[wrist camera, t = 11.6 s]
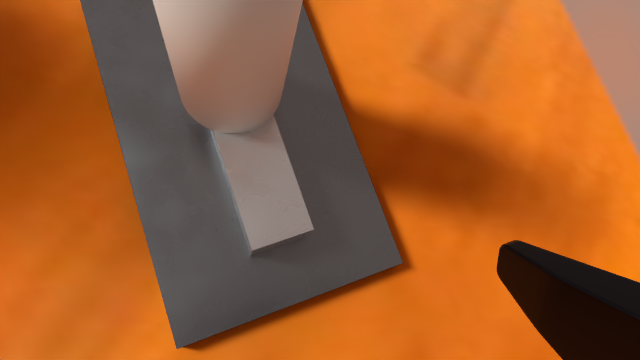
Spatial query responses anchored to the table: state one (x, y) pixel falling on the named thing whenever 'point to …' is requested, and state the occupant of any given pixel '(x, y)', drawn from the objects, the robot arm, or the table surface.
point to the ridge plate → (201, 192)
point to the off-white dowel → (229, 57)
